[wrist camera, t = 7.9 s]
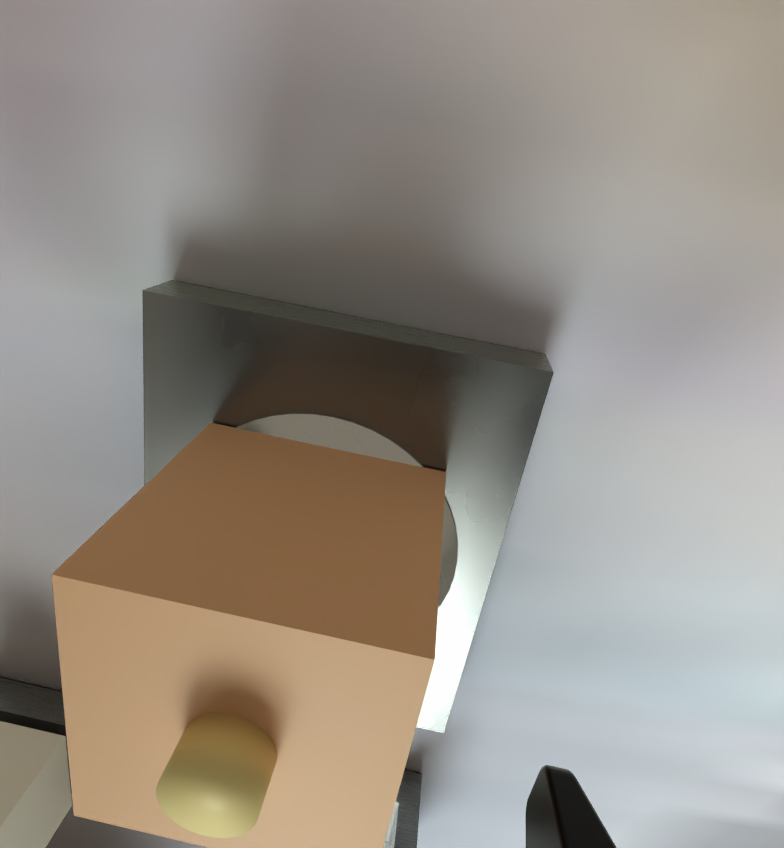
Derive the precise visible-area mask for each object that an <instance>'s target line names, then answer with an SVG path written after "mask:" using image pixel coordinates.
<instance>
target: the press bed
mask: <svg viewBox="0 0 784 848" xmlns="http://www.w3.org/2000/svg"><path fill="white" fill-rule="evenodd" d="M143 375H144V477H145V485H146V484H147V483H148V482H149V481H150V480H151V479H152V478H153V477H154V476H155V475H156V474H157V473H159V472H160V471H161V470H162V469H163V468H164V467H165V466H166V465H167V464H168V463H169V462H170V461H171V460H172V459H173V458H174V457H175V456H176V455H177V454H178V453H179V452H181V451H182V450H183V449H184V448H185V447H186V446H187V445H188V444H189V443H190V442H191V441H192V440H193V439H194V438H195V437H196V436H197V435H198V434H199V433H200V432H201V431H203V430H204V429H205V428H206V427H207V426H208V425H209V424H210V423H215V424H220V425H224V426H229V427H234V428H238V429H243V430H247V431H252V432H257V433H262V434H266V435H271V436H276V437H281V438H285V439H290V440H295V441H300V442H305V443H309V444H314V445H319V446H324V447H328V448H333V449H338V450H343V451H347V452H352V453H357V454H362V455H367V456H371V457H376V458H381V459H386V460H390V461H395V462H400V463H405V464H409V465H414V466H419V467H425V468H429V469H434V470H439V471H444V472H446V485H445V501H444V518H443V534H442V550H441V567H440V583H439V600H438V616H437V633H436V649H435V661H434V665H433V668H432V672H431V676H430V679H429V683H428V686H427V690H426V694H425V697H424V701H423V705H422V708H421V712H420V715H419V719H418V723H417V726H416V727H418V728H423V729H427V730H432V731H436V732H441V733H444V730H445V727H446V724H447V720H448V717H449V714H450V711H451V707H452V704H453V701H454V697H455V694H456V691H457V688H458V684H459V681H460V678H461V674H462V671H463V668H464V665H465V661H466V658H467V655H468V651H469V648H470V645H471V642H472V638H473V635H474V632H475V628H476V625H477V622H478V619H479V615H480V612H481V609H482V605H483V602H484V599H485V596H486V592H487V589H488V586H489V582H490V579H491V576H492V573H493V569H494V566H495V563H496V560H497V556H498V553H499V550H500V546H501V543H502V540H503V537H504V533H505V530H506V527H507V523H508V520H509V517H510V514H511V510H512V507H513V504H514V500H515V497H516V494H517V491H518V487H519V484H520V481H521V477H522V474H523V471H524V468H525V464H526V461H527V458H528V454H529V451H530V448H531V445H532V441H533V438H534V435H535V431H536V428H537V425H538V422H539V418H540V415H541V412H542V408H543V405H544V402H545V399H546V395H547V392H548V389H549V385H550V382H551V379H552V376H553V370H552V368H551V366H550V364H549V362H548V359H547V357H546V355H545V354H541V353H536V352H531V351H526V350H521V349H516V348H511V347H506V346H501V345H495V344H490V343H485V342H480V341H475V340H470V339H465V338H460V337H455V336H450V335H445V334H440V333H435V332H430V331H425V330H420V329H415V328H410V327H405V326H400V325H395V324H390V323H385V322H380V321H375V320H370V319H365V318H360V317H355V316H350V315H344V314H339V313H334V312H329V311H324V310H319V309H314V308H309V307H304V306H299V305H294V304H289V303H284V302H279V301H274V300H269V299H264V298H259V297H254V296H249V295H244V294H239V293H234V292H229V291H224V290H219V289H214V288H209V287H204V286H199V285H193V284H188V283H183V282H178V281H173V280H171V281H168V282H165V283H162V284H159V285H156V286H153V287H151V288H148V289H145V290H143Z"/></svg>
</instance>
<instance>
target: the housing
mask: <svg viewBox="0 0 784 848" xmlns="http://www.w3.org/2000/svg"><path fill="white" fill-rule="evenodd" d="M445 485H446V472H444V471H439V470H434V469H429V468H425V467H419V466H414V465H409V464H405V463H400V462H395V461H390V460H386V459H381V458H376V457H371V456H367V455H362V454H357V453H352V452H347V451H343V450H338V449H333V448H328V447H324V446H319V445H314V444H309V443H305V442H300V441H295V440H290V439H285V438H281V437H276V436H271V435H266V434H262V433H257V432H252V431H247V430H243V429H238V428H234V427H229V426H224V425H220V424H215V423H210V424H209V425H208V426H207V427H206V428H205V429H204V430H203V431H201V432H200V433H199V434H198V435H197V436H196V437H195V438H194V439H193V440H192V441H191V442H190V443H189V444H188V445H187V446H186V447H185V448H184V449H183V450H182V451H181V452H179V453H178V454H177V455H176V456H175V457H174V458H173V459H172V460H171V461H170V462H169V463H168V464H167V465H166V466H165V467H164V468H163V469H162V470H161V471H160V472H159V473H157V474H156V475H155V476H154V477H153V478H152V479H151V480H150V481H149V482H148V483H147V484H146V485H145V486H144V487H143V488H142V489H141V490H140V491H139V492H138V493H136V494H135V495H134V496H133V497H132V498H131V499H130V500H129V501H128V502H127V503H126V504H125V505H124V506H123V507H122V508H121V509H120V510H119V511H118V512H117V513H116V514H114V515H113V516H112V517H111V518H110V519H109V520H108V521H107V522H106V523H105V524H104V525H103V526H102V527H101V528H100V529H99V530H98V531H97V532H96V533H95V534H94V535H92V536H91V537H90V538H89V539H88V540H87V541H86V542H85V543H84V544H83V545H82V546H81V547H80V548H79V549H78V550H77V551H76V552H75V553H74V554H73V555H72V556H70V557H69V558H68V559H67V560H66V561H65V562H64V563H63V564H62V565H61V566H60V567H59V568H58V569H57V570H56V571H55V572H54V573H53V574H52V585H53V596H54V606H55V617H56V628H57V639H58V650H59V660H60V671H61V682H62V693H63V704H64V714H65V725H66V736H67V747H68V758H69V769H70V779H71V790H72V801H73V812H74V816H77V817H82V818H86V819H90V820H94V821H98V822H103V823H107V824H111V825H115V826H119V827H123V828H128V829H132V830H136V831H140V832H144V833H149V834H153V835H157V836H161V837H165V838H170V839H174V840H178V841H182V842H186V843H191V844H195V845H199V846H203V847H207V848H383V846H384V842H385V838H386V835H387V831H388V828H389V824H390V820H391V817H392V813H393V809H394V806H395V802H396V799H397V795H398V791H399V788H400V784H401V781H402V777H403V773H404V770H405V766H406V762H407V759H408V755H409V752H410V748H411V744H412V741H413V737H414V733H415V730H416V726H417V723H418V719H419V715H420V712H421V708H422V705H423V701H424V697H425V694H426V690H427V686H428V683H429V679H430V676H431V672H432V668H433V665H434V661H435V649H436V633H437V616H438V600H439V583H440V567H441V550H442V534H443V518H444V501H445Z"/></svg>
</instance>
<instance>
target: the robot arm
mask: <svg viewBox="0 0 784 848" xmlns="http://www.w3.org/2000/svg"><path fill="white" fill-rule="evenodd" d="M526 848H616V846H615V844H614V843H613V841H612V839H611V837H610V836H609V834H608V832H607V830H606V829H605V827H604V825H603V824H602V822H601V820H600V818H599V817H598V815H597V813H596V812H595V810H594V808H593V806H592V805H591V803H590V801H589V800H588V798H587V796H586V794H585V793H584V791H583V789H582V788H581V786H580V784H579V782H578V781H577V779H576V777H575V776H574V775H573V773H571V772H570V771H569V770H567V769H563V768H558V767H554V766H549V765H545V766H543V767H542V768H541V770H540V772H539V774H538V776H537V779H536V781H535V783H534V786H533V788H532V791H531V793H530V795H529V798H528V801H527V806H526Z"/></svg>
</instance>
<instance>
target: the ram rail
mask: <svg viewBox="0 0 784 848" xmlns="http://www.w3.org/2000/svg"><path fill="white" fill-rule="evenodd" d="M0 721H2V722H7V723H11V724H15V725H20V726H24V727H28V728H32V729H37V730H41V731H45V732H50V733H54V734H58V735H63V736H65V737H66V748H67V758H68V747H67V736H66V725H65V714H64V704H63V693H62V692H61V691H57V690H53V689H48V688H44V687H39V686H35V685H31V684H26V683H22V682H18V681H13V680H9V679H4V678H0ZM68 768H69V758H68ZM421 778H422V774H420V773H416V772H411V771H407V770H404V773H403V777H402V781H401V784H400V788H399V791H398V795H397V799H396V802H395V806H394V809H393V813H392V817H391V820H390V824H389V828H388V831H387V835H386V838H385V842H384V846H383V848H417V835H418V820H419V806H420V792H421ZM69 779H70V769H69ZM70 789H71V779H70ZM71 794H72V790H71Z"/></svg>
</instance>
